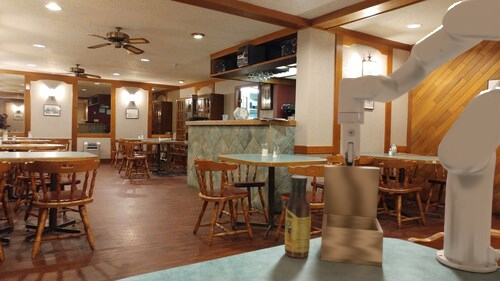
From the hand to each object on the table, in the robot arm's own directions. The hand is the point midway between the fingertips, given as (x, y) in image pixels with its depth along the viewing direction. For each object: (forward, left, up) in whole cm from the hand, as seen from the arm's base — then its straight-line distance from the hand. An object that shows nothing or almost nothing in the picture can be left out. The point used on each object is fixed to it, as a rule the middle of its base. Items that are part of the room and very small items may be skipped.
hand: (348, 180), depth 106 cm
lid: (0, +11, -2) cm, 11 cm away
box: (0, +16, -16) cm, 23 cm away
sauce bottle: (+13, +21, -17) cm, 30 cm away
